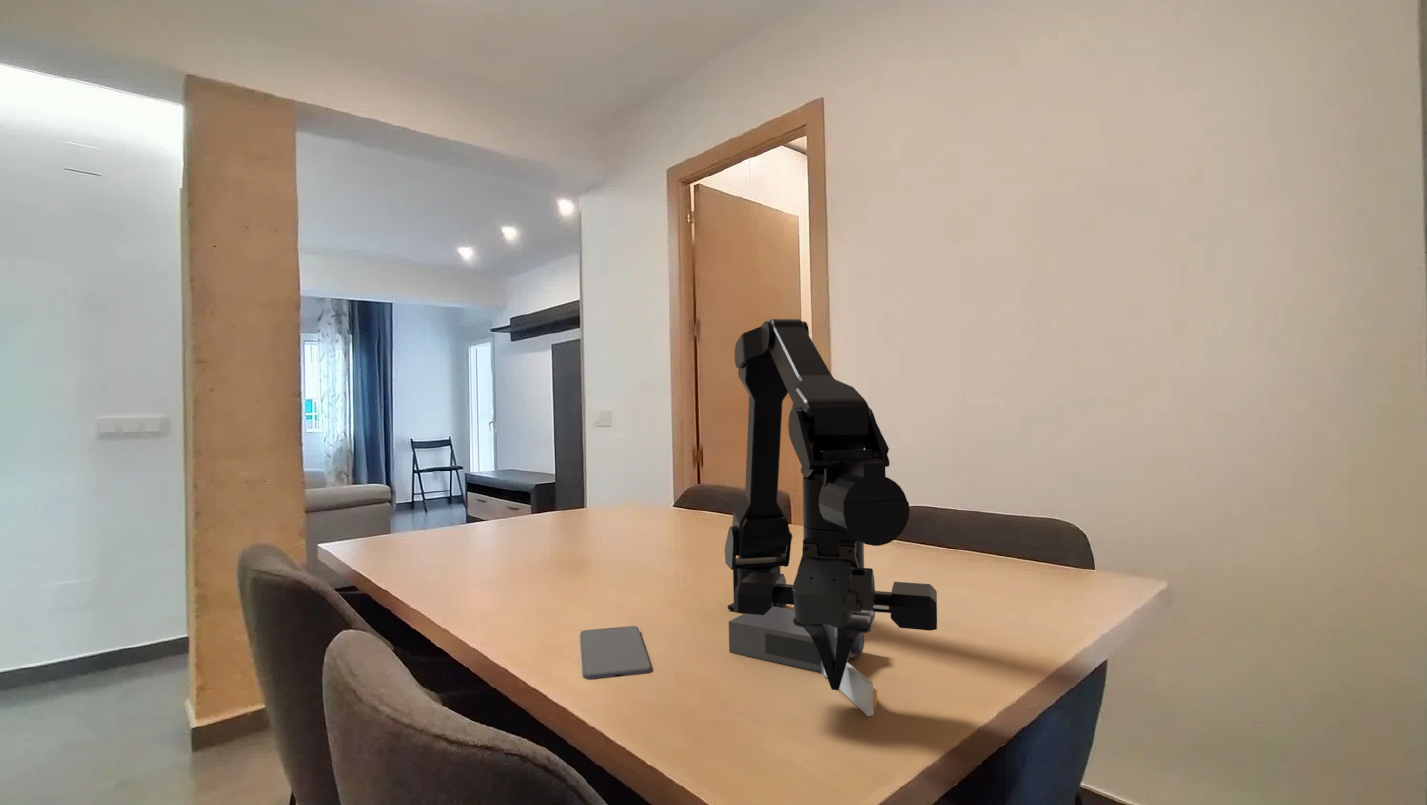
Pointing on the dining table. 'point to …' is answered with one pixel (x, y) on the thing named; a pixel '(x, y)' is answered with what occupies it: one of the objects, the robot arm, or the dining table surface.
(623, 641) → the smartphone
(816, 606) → the robot arm
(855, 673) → the side door
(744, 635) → the block
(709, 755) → the dining table surface
